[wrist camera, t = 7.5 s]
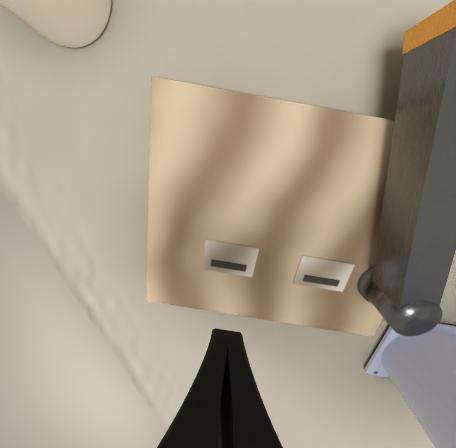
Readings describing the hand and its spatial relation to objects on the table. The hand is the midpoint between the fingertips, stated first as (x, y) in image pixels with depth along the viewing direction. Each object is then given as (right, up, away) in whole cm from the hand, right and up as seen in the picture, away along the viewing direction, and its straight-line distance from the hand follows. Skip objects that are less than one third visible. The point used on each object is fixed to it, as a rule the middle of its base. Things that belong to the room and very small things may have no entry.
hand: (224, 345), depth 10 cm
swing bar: (+12, +8, +4) cm, 15 cm away
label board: (+5, +6, +8) cm, 11 cm away
